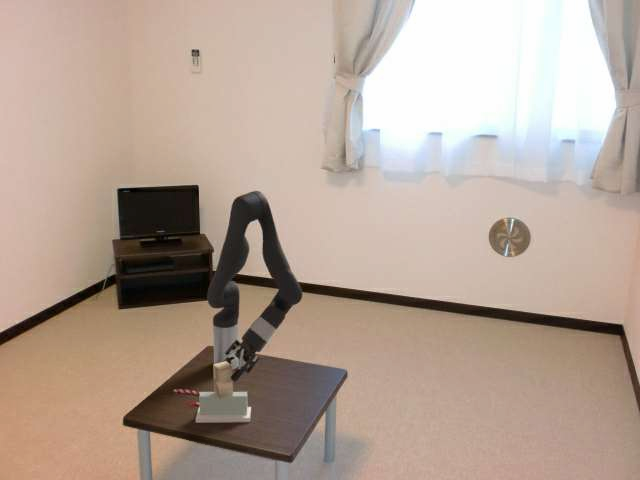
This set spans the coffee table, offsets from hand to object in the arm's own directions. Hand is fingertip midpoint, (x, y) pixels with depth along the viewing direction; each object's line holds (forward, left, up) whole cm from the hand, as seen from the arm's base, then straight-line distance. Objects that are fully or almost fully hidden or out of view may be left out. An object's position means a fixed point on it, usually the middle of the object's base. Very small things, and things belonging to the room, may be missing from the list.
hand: (227, 374), depth 199 cm
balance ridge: (+1, -1, -14) cm, 14 cm away
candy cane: (-12, -14, -15) cm, 24 cm away
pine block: (+1, -1, -6) cm, 7 cm away
